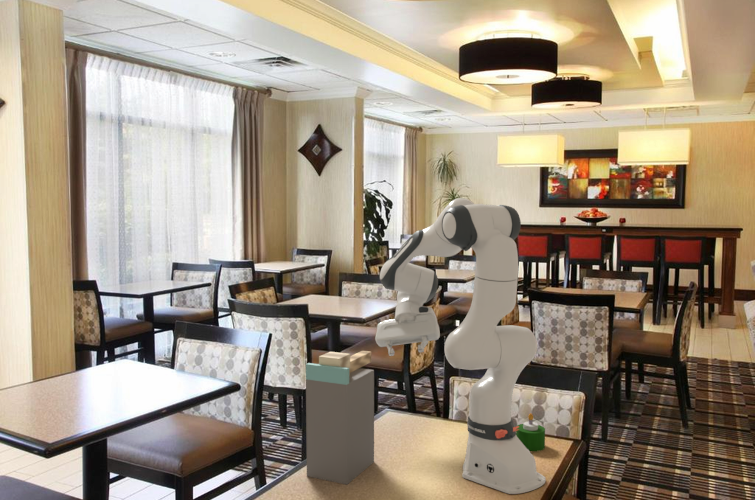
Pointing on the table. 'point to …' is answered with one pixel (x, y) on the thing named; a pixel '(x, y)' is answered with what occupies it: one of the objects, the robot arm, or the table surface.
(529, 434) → the candle
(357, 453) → the pedestal
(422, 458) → the table surface
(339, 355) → the mallet
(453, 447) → the table surface
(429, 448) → the table surface
